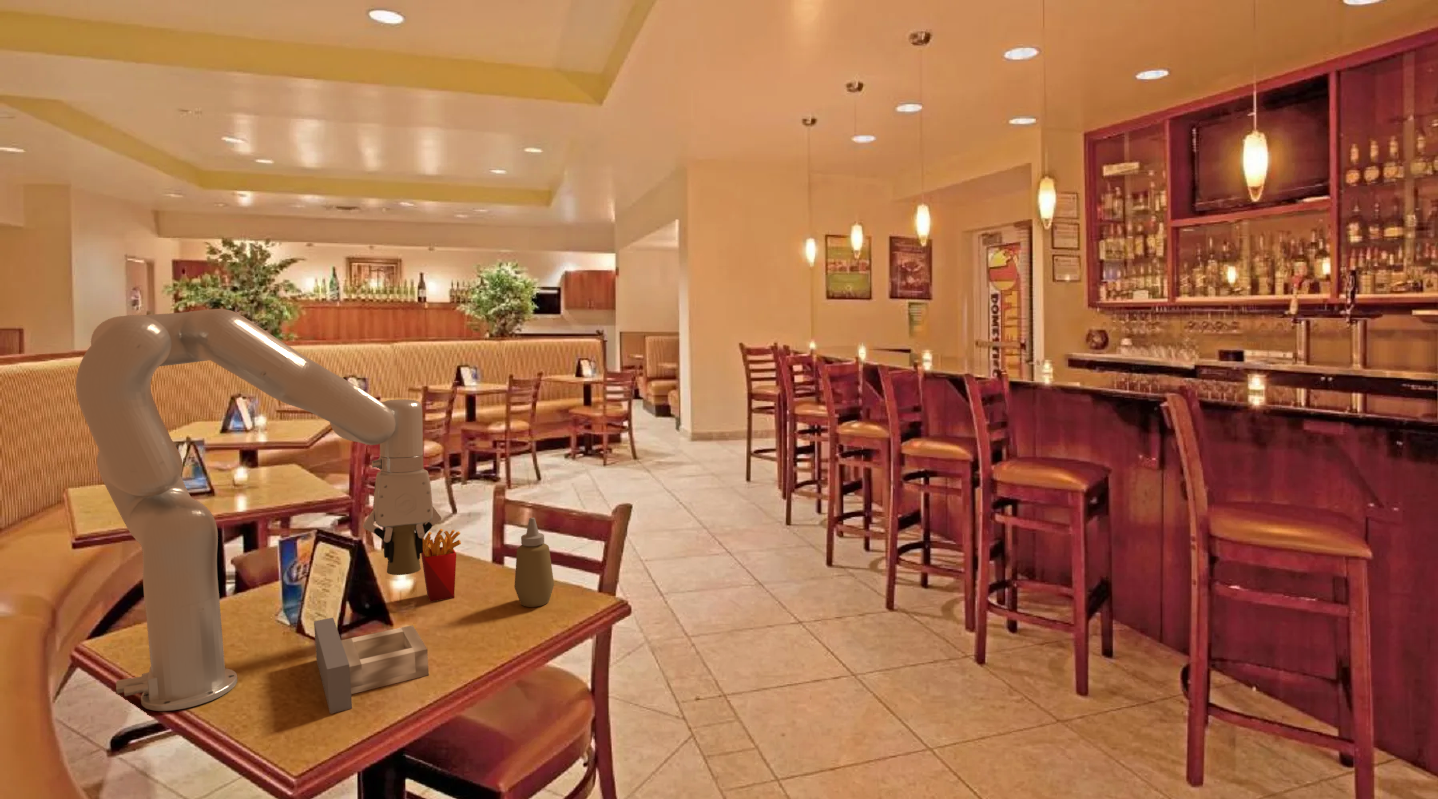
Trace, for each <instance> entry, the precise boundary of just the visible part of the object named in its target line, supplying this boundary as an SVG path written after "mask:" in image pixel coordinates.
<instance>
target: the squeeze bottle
mask: <svg viewBox="0 0 1438 799" xmlns="http://www.w3.org/2000/svg"><path fill="white" fill-rule="evenodd" d="M526 528H527V529H526V533H525V534H522V535H521V536H520V540H521V541H520V543H521V545H519V547H517V548H516V557H515V559H516V560H515V572H514V573H515V575H514V591H515V592H516V595H517V598H518V600H519V603H520V605H521V606H523V607H527V608H529V607H530V608H532V607H533V608H534V607H541V606H544V605H546V604H548V603H549V601H551V600H550V599H551V597H552V593H553V589H554V587H555V582H554V575H553V574H554V573H553V567H552V566H553V565H552V559H551V550H550V546H549V545H548V544H547V543H545V534H544V533H541V532H539V528H538V525H537V522H536V518H535V517H530V518H528V524H527V527H526Z"/></svg>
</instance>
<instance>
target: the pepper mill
mask: <svg viewBox="0 0 1438 799" xmlns="http://www.w3.org/2000/svg"><path fill="white" fill-rule="evenodd" d="M416 525H417V524H414V525H402V526H396V527H392V529H393V530H392V535H391V538H392V542H394V555H393V562H392V563H390V562H389V559H387V566H386V573H387V574H389V575H392V576H404V575H405V576H406V575H411V574H415V573H418V572H419V571H420V570H421V568H422V566H421V561H420V559H417V553H416V543H415V539H416V535H415V529H416Z"/></svg>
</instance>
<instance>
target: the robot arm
mask: <svg viewBox="0 0 1438 799" xmlns="http://www.w3.org/2000/svg"><path fill="white" fill-rule="evenodd" d="M88 347H89V348H88V349H87V350H86V352H85V353H84V354H83V357H82V359H81V361H80V363H79V366H78V370H77V374H76V378H75V393H76V398H77V402H78V404H79V408H80V411H81V413H82V414H83V417H84V419H85V422H86V424H87V426H88V428H89V431H90V433H91V436H92V438H93V440H94V442H95V444H96V447H97V448H98V452H97V455H96V466H97V470H98V472H99V475H100V478H101V480H102V482H103V484H104V485H105V488H106V490H107V492H108V494H109V497H111V499H112V502H113V503H114V505H115V508H116V509H117V511H118V513H119V515H120V518H121V519H122V521H123V522H124V525H125V527H126V529H127V530H128V531H129V534H130V535H131V537H133V538H134V539H135V541H136V542H138V544H140V546H141V550H142V551H141V552H142V585H143V586H142V587H143V596H144V597H143V599H144V606H145V616H146V627H147V638H148V639H147V640H148V650H149V659H150V660H149V662H150V667H149V671H148V672H144V673H141V676H137V677H132V678H131V677H129V678H124V679H119V680H116V682H115V686H116V687H115V690H116V694H122V693H124V697H128V696H133V695H136V694H140V693H141V696H140V704H141V706H142V707H143V708H145V709H147V710H150V711H156V712H166V711H167V712H169V711H178V710H185V709H189V708H192V707H196V706H200V705H202V704H206V703H208V702H212V701H213V700H217V699H218V698H220V697H222V696H224V695H225V694H228V692H230V691H231V690H232V689H234V687H235V686H236V685H237V683H238V675H237V672H236V671H234V670H233V669H231V668H230V669H229V668H226V666H225V664H226V662H225V651H224V642H223V641H224V640H223V627H222V616H221V614H222V613H221V602H220V601H221V600H220V593H219V592H220V591H219V580H218V542H219V541H218V539H219V537H218V536H219V532H218V525H217V522H216V521H217V520H216V519H215V516H214V515H213V513H212V512H211V510H210V509H209V508H208V507H207V506H206V505H204V504H203V503H202V502H200V501H198V500H196V499H195V498H193V497H192V496H191V495H190V493H189V490H188V488H187V486H186V485H185V483H184V479H182V478H183V477H182V474H183V468H184V467H183V458H182V456H181V453H180V451H179V450H178V448H177V446H176V445H175V443H174V441H173V439H172V437H171V435H170V434H169V432H168V429H167V427H166V425H165V423H164V420H163V419H162V417H161V414H160V412H159V410H158V407H157V404H156V402H155V400H154V398H153V397H154V396H153V394H152V389H151V388H152V386H151V385H152V379H153V376H154V374H155V372H156V370H157V369H158V368H159V367H167V366H175V365H176V366H177V365H183V364H191V363H199V362H205V361H211V362H213V363H214V364H216V365H218V366H220V367H221V368H223V369H224V370H226V371H227V372H230V373H231V374H233V375H235V376H236V377H238V378H240V379H242V380H243V381H245V382H246V383H248V384H250V385H252V386H253V387H255V388H257V389H258V390H260V391H261V392H262V393H265V394H266V395H267V396H269V397H271V398H273V399H275V400H277V401H280V402H281V403H284V404H286V405H289V406H292V407H295V408H298V409H300V410H304V411H306V412H309V413H312V414H313V415H316V416H317V417H319V418H321V419H324V420H325V421H328V422H329V423H330V426H331V429H332V431H333V432H334V433H335V434H336V435H337V436H338V437H340V438H341V439H344V440H347V441H351V442H354V443H360V444H364V445H368V446H375V445H376V446H377V445H379V458H378V459H375V460H371V467H372V468H374V469H375V468H376V469H379V470H380V471H378V472H377V473H376V477H375V482H374V488H373V489H374V490H373V503H372V504H373V505H372V507H373V509H372V511H371V512H370V514H369V515H368V516H367V518H366V519H365V521H364V522H363V524H362V528H363V529H364V530H366V531H368V532H370V533H372V534H375V535H376V536H377V537H378V538H380V539H381V540H382V541H383V557H384V559H387V560H388V559H389V562H390V563H392V562H393V555H394V542H392V538H391V535H392V530H393V529H392V527H396V526H402V525H414V524H417V525H416V529H415V535H416V539H415V543H416V553H417V559H419V560H420V559H421V553H423V537H424V538H425V537H426V535H427V534H428V533H429V532H430V530H431V529H432V527H434V526H435V525H437V524H438V523H440V522H441V521H442V516H441V515H440V513H438V512H437V510H436V509H435V507H434V506H433V494H432V487H431V479H430V474H429V471H428V470H426V469H424V443H423V442H424V441H423V440H424V437H423V436H424V435H423V434H424V433H423V432H424V430H423V422H424V421H423V406H422V403H421V402H420V401H418V400H415V399H407V398H405V399H401V398H400V399H389V400H384V401H381V400H379V399H378V398H376V397H374V396H373V395H371V394H369V393H368V392H367V391H366V390H363V389H362V388H360V387H358V386H357V385H355V384H354V383H352V382H350V381H348V380H347V379H345V378H343V377H342V376H340V375H338V374H336V373H334V372H333V371H331V370H329V369H327V367H326V368H325V366H323V365H321V364H320V363H318V362H316V361H314V360H312V359H310V358H308V357H307V356H306V355H303V354H302V353H300V352H299V351H297V350H295V348H292V347H291V346H289V345H287V343H285V342H283V341H282V340H280V339H279V338H277V337H276V336H274V335H272V334H271V333H270V332H268V331H267V330H265V329H263V328H261V326H259V325H257V323H255V322H253V321H251V320H250V319H248V318H246V317H245V316H243V315H241V314H239V313H238V312H235V311H233V310H231V309H225V308H213V309H202V310H193V311H182V312H171V313H157V314H155V313H153V314H140V315H139V314H136V315H135V314H134V315H133V314H132V315H131V314H129V315H119V316H114V317H111V318H108V319H106V320H104V321H102V322H100V324H99V325H97V326H96V328H95V329H94V330H93V332H92V334H91V338H90V346H88ZM374 523H375V524H376V525H375V524H374Z"/></svg>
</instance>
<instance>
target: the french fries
mask: <svg viewBox="0 0 1438 799" xmlns="http://www.w3.org/2000/svg"><path fill="white" fill-rule="evenodd" d="M443 531H444V529H442V528H440V529H439V530H438V532H437V533H436V535H435V537H434V539H431V538H432V537H431V535H432V534H433V532H431V531H428V532H427V533H426V535H425V536H424V537H423V553H420V557H421V561H422V568H423V576H424V583H425V588H426V595H427V597H428V599H429V602H431V603H432V602H437V600H438V601H443V600H449V599H454V598H455V590H456V587H455V586H456V566H457V552H456V550H455V548H456V547H458V546H459V545H461V544H462V542H461V540H460V539H457V540H456V538H457V537H458V536H459V535H461V532H460V530H459V531H458V530H457V531H456V530H455V529H452V530H451V532H450V533H449V531H448V530H445V531H444V532H443ZM442 533H443V534H444V535H445V537H444V536H443V535H442ZM455 540H456V541H455ZM441 544H442V546H441Z"/></svg>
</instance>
